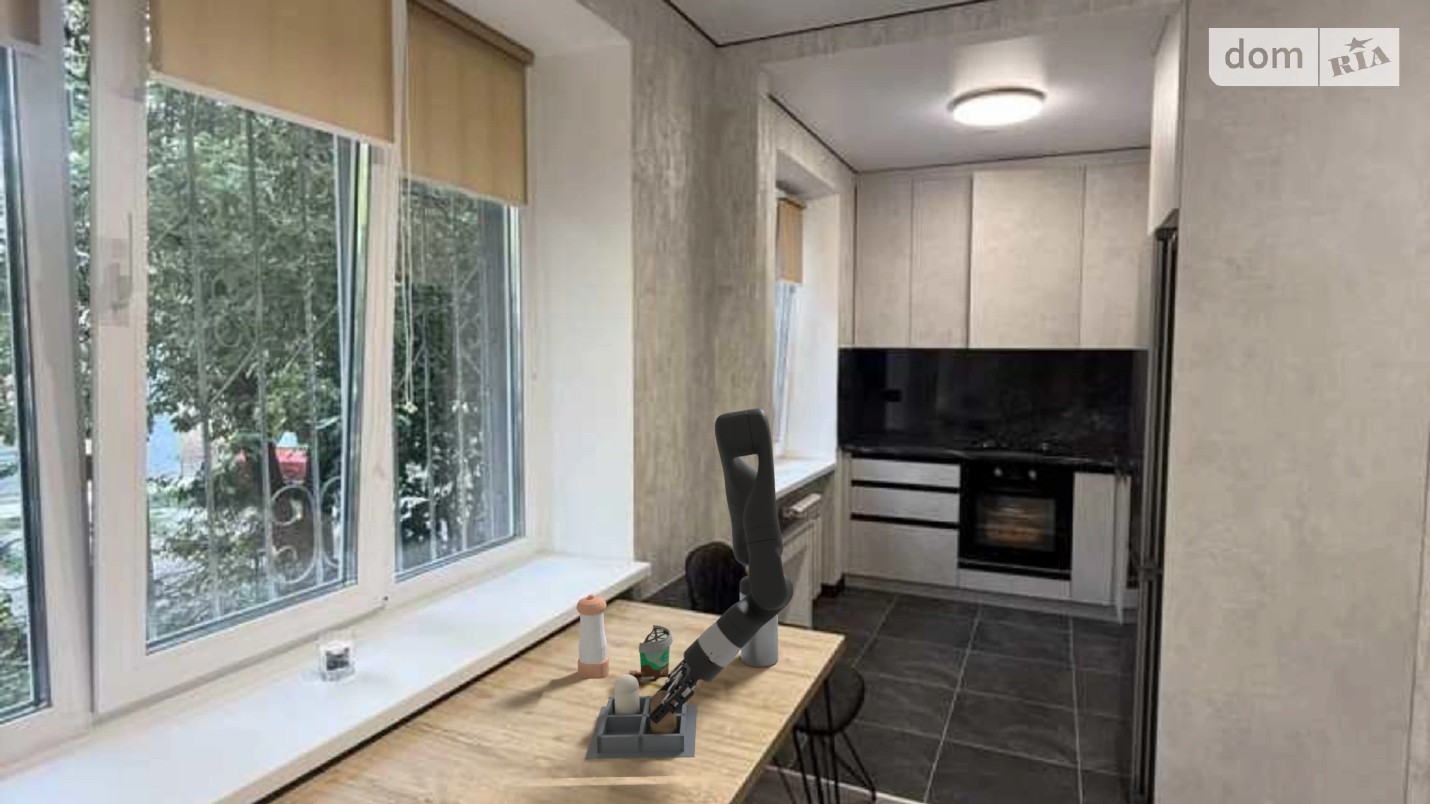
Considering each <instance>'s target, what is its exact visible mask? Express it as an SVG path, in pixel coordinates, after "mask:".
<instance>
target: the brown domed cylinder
mask: <svg viewBox="0 0 1430 804" xmlns="http://www.w3.org/2000/svg"><path fill="white" fill-rule="evenodd" d="M656 692H657V691H656ZM656 692H655V693H654V694H653V695H652V696H653V697H652V699H651V702H650V713H651V712H652V711H653V710H654V709H655V708H656V707H657V706H658V705H659V704H660V703H661V702H662V700H663V699H664V698H665V697H666V695H667V694H668V691H665V690H662V691H659V692H657V693H656ZM674 702H675V700H672V701H671V703H672V704H673V703H674ZM651 734H676V712H675V713H674V714H672V713H671V712H670V711H669V712H668V713H667V715H666V716H665V717H664V718H663V719H662V720H661V721H660V722H659V723H657V724H655V723H654V722H653V721H652V720H651Z"/></svg>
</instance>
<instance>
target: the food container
mask: <svg viewBox="0 0 1430 804" xmlns="http://www.w3.org/2000/svg"><path fill="white" fill-rule="evenodd" d="M638 644H639V645H638V653H639V661H640V664H639V665H640V677H641V680H643V681H644V680H645V681H646V680H655V679H659V678H660V679H661V678H667V676H668V674H669V670H670V669H669V667H670V647H671V646H672V644H673V635H672V633H671V631H670V629H668V628H667V627H665V626H662V625H656V624H653V625H652V630H651V632H650V633H649V634H647V636H646V637H645V639H644V641H643V642H638Z"/></svg>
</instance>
